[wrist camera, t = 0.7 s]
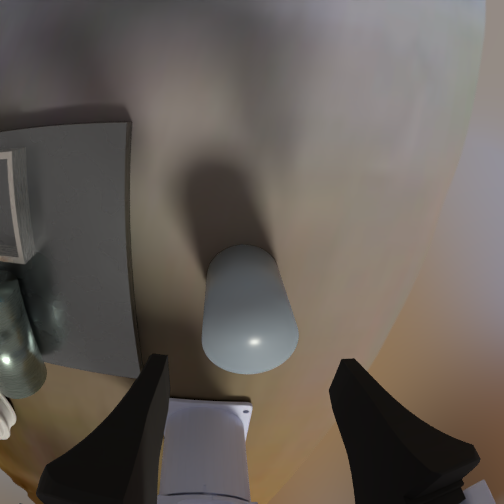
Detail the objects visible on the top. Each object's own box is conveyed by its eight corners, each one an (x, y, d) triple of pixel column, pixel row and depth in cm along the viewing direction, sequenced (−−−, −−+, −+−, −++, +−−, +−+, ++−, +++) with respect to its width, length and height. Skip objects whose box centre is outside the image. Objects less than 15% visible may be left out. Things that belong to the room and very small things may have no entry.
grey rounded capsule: (273, 309, 21) (288, 374, 15) (205, 305, 20) (201, 372, 15) (284, 247, 19) (307, 303, 14) (208, 241, 18) (203, 298, 13)
